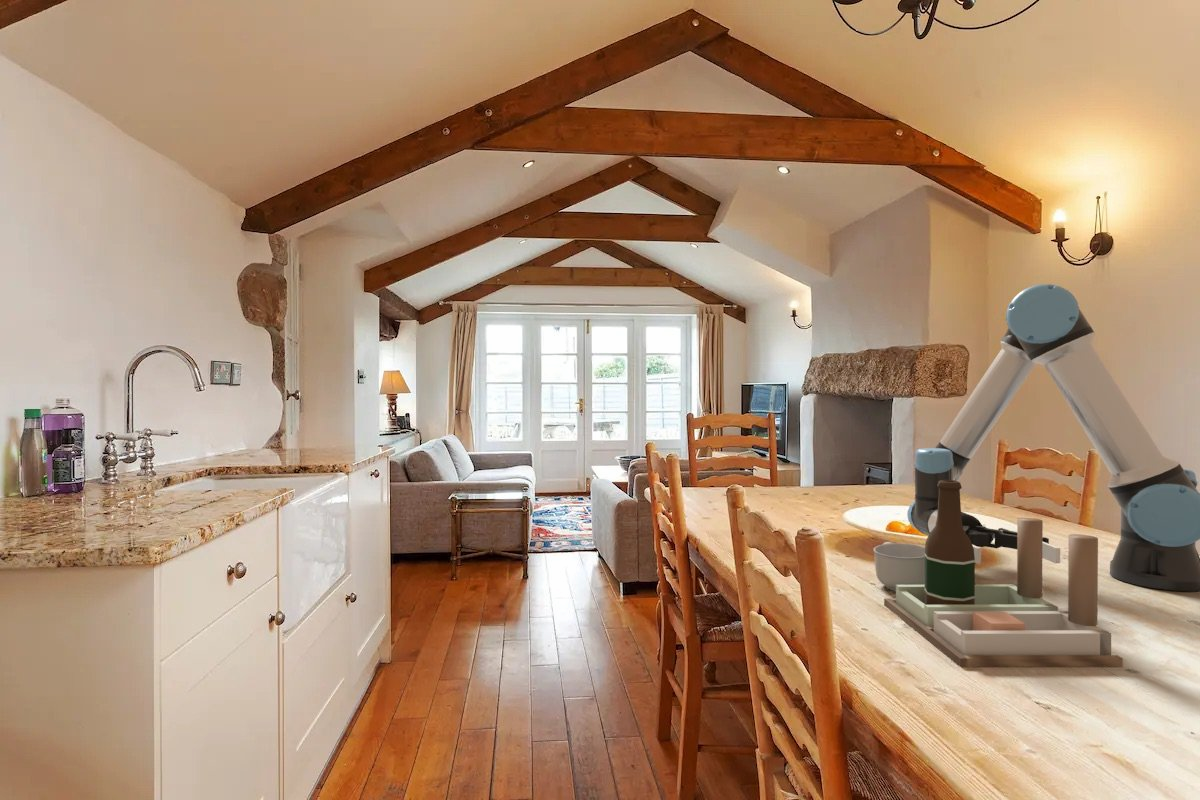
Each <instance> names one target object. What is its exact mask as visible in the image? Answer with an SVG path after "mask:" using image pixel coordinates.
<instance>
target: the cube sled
mask: <svg viewBox="0 0 1200 800" xmlns="http://www.w3.org/2000/svg"><path fill="white" fill-rule="evenodd" d="M1098 560H1099V538H1098V537H1097V536H1093V535H1088V534H1079V533H1078V534H1077V533H1076V534H1075V533H1072V534H1068V560H1067V561H1068V565H1067V566H1068V567H1067V568H1068V569H1067V570H1068V575H1067V576H1068V581H1067V582H1068V583H1067V585H1068V586H1067V587H1068V588H1067V591H1068V592H1067V593H1068V594H1067V597H1068V598H1067V602H1068V603H1067V604H1068V605H1067V610H1058V611H934V633H935V634H936V635H938V636H939V637H940V638H942V639H943V640H944V641H945V642H947V643H948V644H949V645H951V646H952V647H953V648H954V649H956V650H957V651H958V652H960V653H961V654H962V655H1112V633H1111V632H1110V631H1108V630H1106V629H1103V628H1101V627H1099V626H1098V597H1099V596H1098V592H1099V591H1098V589H1099V588H1098V587H1099V582H1098V581H1099V579H1098V578H1099V574H1098V573H1099V571H1098V570H1099V567H1098V566H1099V561H1098ZM973 612H1006V613H1008V614H1010V615H1011V616H1013V617H1015V618H1017V619H1018V620H1020V621H1022V622H1023V623H1025V630H1022V631H973Z"/></svg>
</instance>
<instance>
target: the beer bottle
mask: <svg viewBox="0 0 1200 800" xmlns="http://www.w3.org/2000/svg"><path fill="white" fill-rule="evenodd" d="M937 486H938V487H939V498H938V512H937V520H936V525H935V527H934V528H933V530H932V531H931V532H930V533H929V535H927V539H926V540H925V545H924V546H925V605H975V584H976V582H975V581H976V580H975V579H976V578H975V576H976V573H975V571H976V570H975V569H976V567H975V566H976V563H975V557H974V548H973V545H972V543H971V540H970V538H969V537H968V535H967V534H966V532H965V531H964V530H963V525H962V519H961V512H962V506H961V493H960V491H961V489H962V485H961V482H960V481H958V480H956V481H955V480H940V481H938V485H937Z"/></svg>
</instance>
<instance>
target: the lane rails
mask: <svg viewBox="0 0 1200 800" xmlns="http://www.w3.org/2000/svg"><path fill="white" fill-rule="evenodd" d="M883 602H884V603H883V605H884V606H885V607H886V608H887V609H889V610H890V611H891V612H892V613H894V614H895V615H896V616H897V617H898V618H899V619H901V620H902V621H903V622H905V624H907V625H908V626H909V627H911V628H912V629H913V630H914V631H916V632H917V633H918V634H919V635H920V636H922V637H923V638H924V639H926V640H927V641H928V642H929V643H931V644H932V645H933V646H934V647H935V648H937V649H938V650H939V651H940V652H941V653H943V654H944V655H945V656H947V657H948V659H950V660H951V661H953V663H955V664H956V665H957V666H959V667H965V668H966V667H967V668H968V667H971V668H973V667H975V668H976V667H979V668H980V667H981V668H982V667H985V668H986V667H988V668H989V667H992V668H994V667H995V668H996V667H998V668H999V667H1000V668H1001V667H1003V668H1004V667H1005V668H1007V667H1009V668H1010V667H1011V668H1012V667H1013V668H1016V667H1021V668H1023V667H1025V668H1026V667H1029V668H1031V667H1033V668H1034V667H1036V668H1037V667H1038V668H1039V667H1040V668H1041V667H1049V668H1050V667H1052V668H1053V667H1062V668H1063V667H1069V668H1070V667H1101V668H1102V667H1115V668H1117V667H1123V666H1124V665H1123V664H1124V663H1123V662H1124V658H1123V657H1121V656H1120V655H1117V654H1116V655H1114V654H1113V655H1112V654H1111V655H962V654H961V653H960V652H958V651H957V650H956V649H954V648H953V647H952V646H951V645H949V644H948V643H947V642H945V641H944V640H943V639H942V638H940V637H939V636H938V635H936V634H935V633H934V626H927V627H926V626H925V625H923V624H922V623H921V622H920V621H918V620H917V619H916V618H914V617H913V616H912V615H910V614H909V613H908V612H907V611H905V610H904V609H903V608H901V607H900V606H899V605H898V604H896V597H895V598H894V597H893V598H890V597H886V598H884V599H883Z"/></svg>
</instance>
